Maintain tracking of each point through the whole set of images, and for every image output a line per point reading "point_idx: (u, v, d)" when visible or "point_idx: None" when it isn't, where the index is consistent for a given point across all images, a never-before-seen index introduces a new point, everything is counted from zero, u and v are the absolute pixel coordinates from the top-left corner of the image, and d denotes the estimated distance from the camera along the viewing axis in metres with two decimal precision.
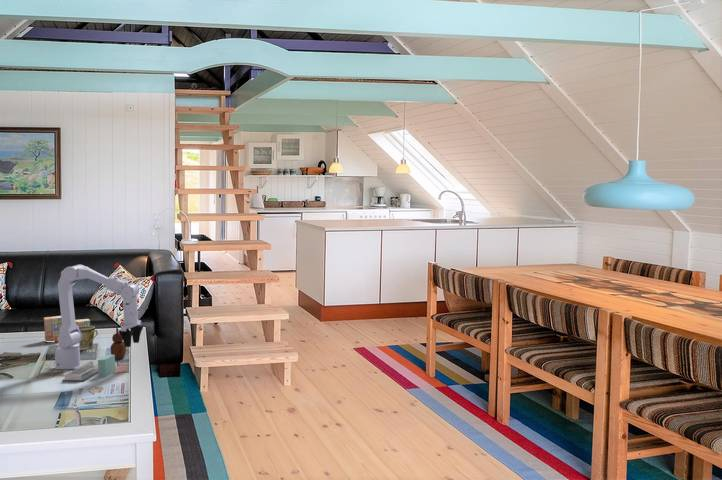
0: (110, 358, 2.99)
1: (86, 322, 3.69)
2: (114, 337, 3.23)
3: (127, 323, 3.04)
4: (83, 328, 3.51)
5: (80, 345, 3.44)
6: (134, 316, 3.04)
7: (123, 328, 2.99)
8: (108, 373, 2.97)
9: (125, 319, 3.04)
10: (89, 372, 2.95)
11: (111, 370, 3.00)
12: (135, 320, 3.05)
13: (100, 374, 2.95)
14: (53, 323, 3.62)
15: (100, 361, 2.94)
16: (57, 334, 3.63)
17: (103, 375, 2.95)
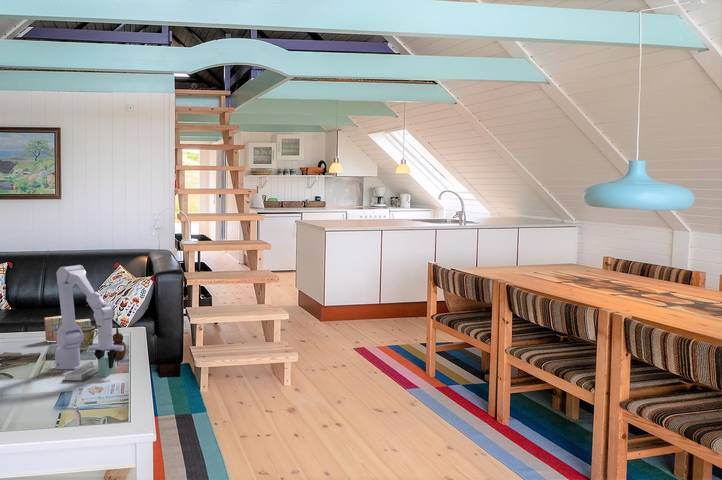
0: None
1: (87, 322, 3.70)
2: (114, 337, 3.23)
3: None
4: (83, 328, 3.51)
5: None
6: (99, 339, 2.96)
7: None
8: (108, 373, 2.97)
9: None
10: (89, 372, 2.95)
11: (111, 370, 3.00)
12: (100, 344, 2.96)
13: (100, 374, 2.95)
14: (54, 323, 3.62)
15: (100, 361, 2.94)
16: None
17: (103, 374, 2.95)
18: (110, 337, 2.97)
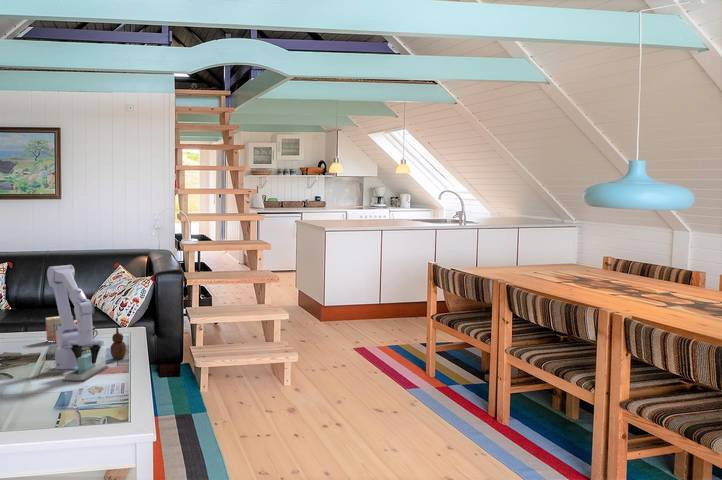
0: (90, 356, 3.00)
1: None
2: (114, 337, 3.23)
3: None
4: None
5: None
6: (79, 334, 2.96)
7: None
8: None
9: None
10: (89, 372, 2.95)
11: None
12: (79, 339, 2.96)
13: (79, 372, 2.95)
14: (55, 323, 3.62)
15: (79, 359, 2.95)
16: None
17: None
18: (90, 332, 2.97)
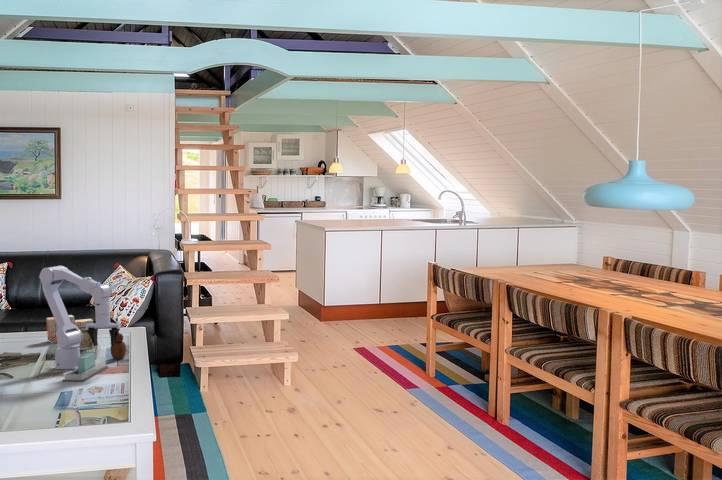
0: (90, 356, 3.00)
1: (89, 322, 3.70)
2: None
3: None
4: (83, 328, 3.51)
5: (80, 345, 3.44)
6: (96, 317, 3.01)
7: None
8: None
9: None
10: (89, 372, 2.95)
11: None
12: (97, 321, 3.01)
13: (79, 372, 2.95)
14: None
15: (79, 359, 2.95)
16: None
17: None
18: (107, 315, 3.02)
